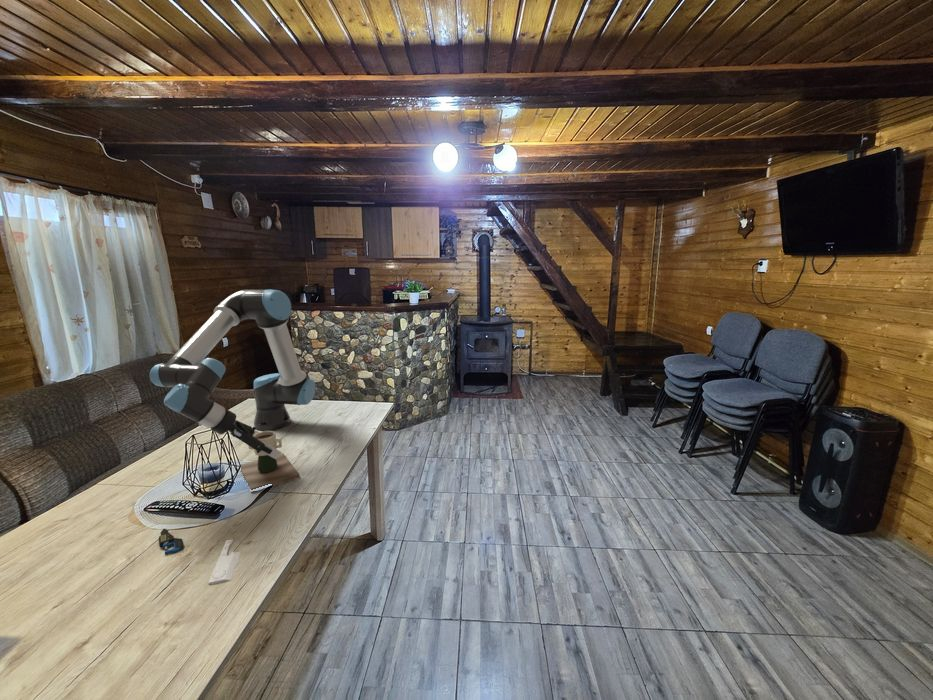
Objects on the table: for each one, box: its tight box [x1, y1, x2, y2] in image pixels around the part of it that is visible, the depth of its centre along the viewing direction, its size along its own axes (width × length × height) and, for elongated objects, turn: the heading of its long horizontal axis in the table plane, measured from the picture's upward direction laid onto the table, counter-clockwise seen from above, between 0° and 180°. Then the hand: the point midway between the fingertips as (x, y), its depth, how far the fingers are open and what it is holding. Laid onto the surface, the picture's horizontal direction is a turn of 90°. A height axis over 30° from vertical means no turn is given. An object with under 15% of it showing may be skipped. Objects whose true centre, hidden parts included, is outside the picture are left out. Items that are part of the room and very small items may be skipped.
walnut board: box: [240, 452, 300, 490], centre depth 140 cm, size 20×15×2 cm
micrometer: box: [158, 528, 185, 555], centre depth 106 cm, size 12×2×5 cm
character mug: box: [248, 430, 283, 472], centre depth 139 cm, size 11×7×13 cm, turn 98°
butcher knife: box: [207, 539, 241, 585], centre depth 99 cm, size 5×15×1 cm, turn 16°
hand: (273, 448), depth 140 cm, fingers open, 13 cm apart
